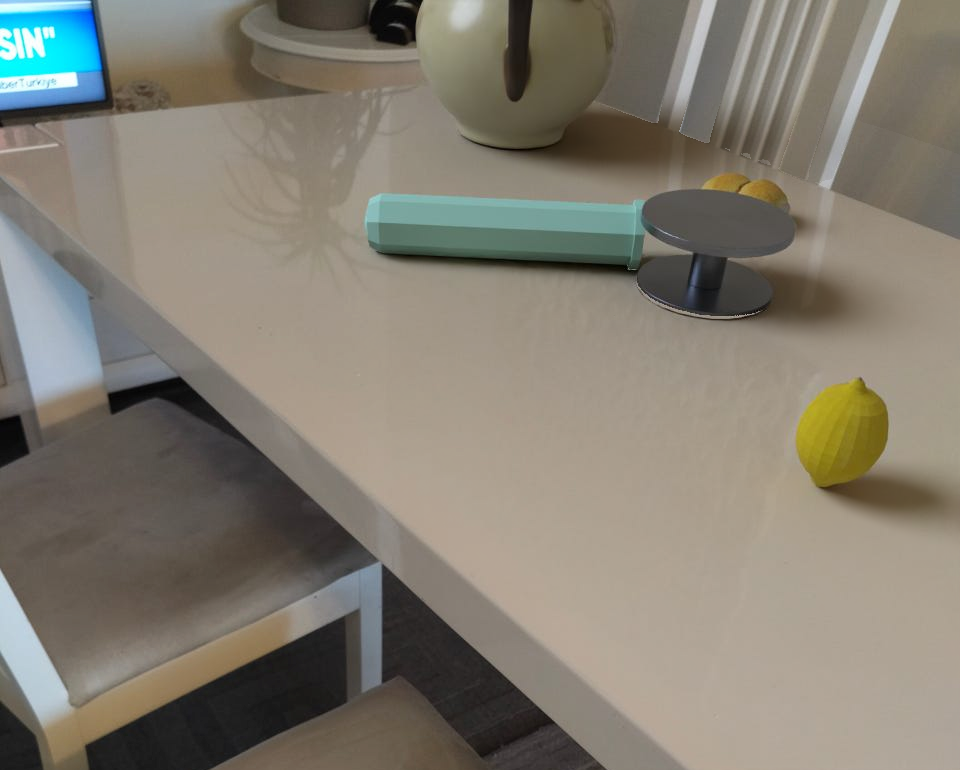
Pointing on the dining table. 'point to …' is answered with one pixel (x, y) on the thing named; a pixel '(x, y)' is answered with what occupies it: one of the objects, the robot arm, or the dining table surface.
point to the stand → (712, 250)
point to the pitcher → (516, 64)
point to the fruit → (842, 433)
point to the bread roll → (750, 188)
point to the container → (506, 228)
